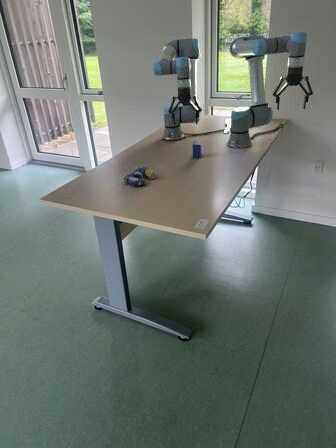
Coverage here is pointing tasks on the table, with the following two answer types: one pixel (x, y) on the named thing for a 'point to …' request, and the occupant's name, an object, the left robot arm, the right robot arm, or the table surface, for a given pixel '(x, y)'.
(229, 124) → the spoon
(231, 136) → the right robot arm
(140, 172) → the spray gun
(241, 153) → the table surface
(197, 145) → the block
